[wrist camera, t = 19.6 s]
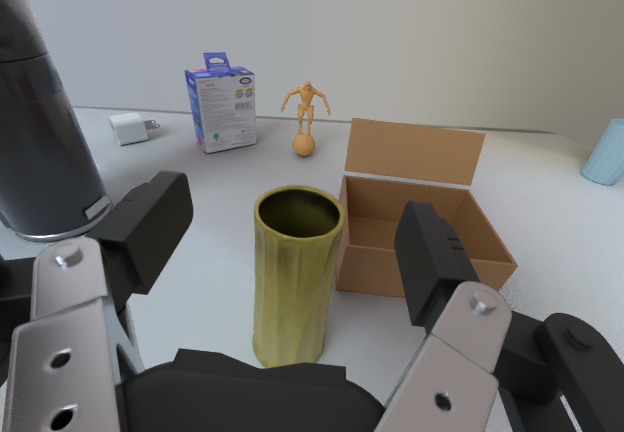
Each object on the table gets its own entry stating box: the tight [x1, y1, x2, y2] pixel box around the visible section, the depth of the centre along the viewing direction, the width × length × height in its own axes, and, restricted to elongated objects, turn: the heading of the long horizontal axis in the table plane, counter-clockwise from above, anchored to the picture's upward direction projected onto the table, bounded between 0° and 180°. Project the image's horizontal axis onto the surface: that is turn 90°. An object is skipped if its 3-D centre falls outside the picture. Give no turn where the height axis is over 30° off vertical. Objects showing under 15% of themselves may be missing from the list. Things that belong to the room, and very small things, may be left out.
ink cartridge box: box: [185, 53, 256, 153], centre depth 49 cm, size 10×6×14 cm, turn 127°
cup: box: [581, 119, 624, 185], centre depth 54 cm, size 8×8×10 cm
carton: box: [336, 175, 518, 298], centre depth 33 cm, size 16×13×6 cm
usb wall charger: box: [108, 112, 160, 145], centre depth 51 cm, size 4×7×4 cm, turn 132°
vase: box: [253, 185, 345, 368], centre depth 21 cm, size 6×6×14 cm
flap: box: [345, 118, 485, 186], centre depth 35 cm, size 16×6×1 cm
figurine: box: [281, 82, 330, 156], centre depth 50 cm, size 8×6×12 cm
